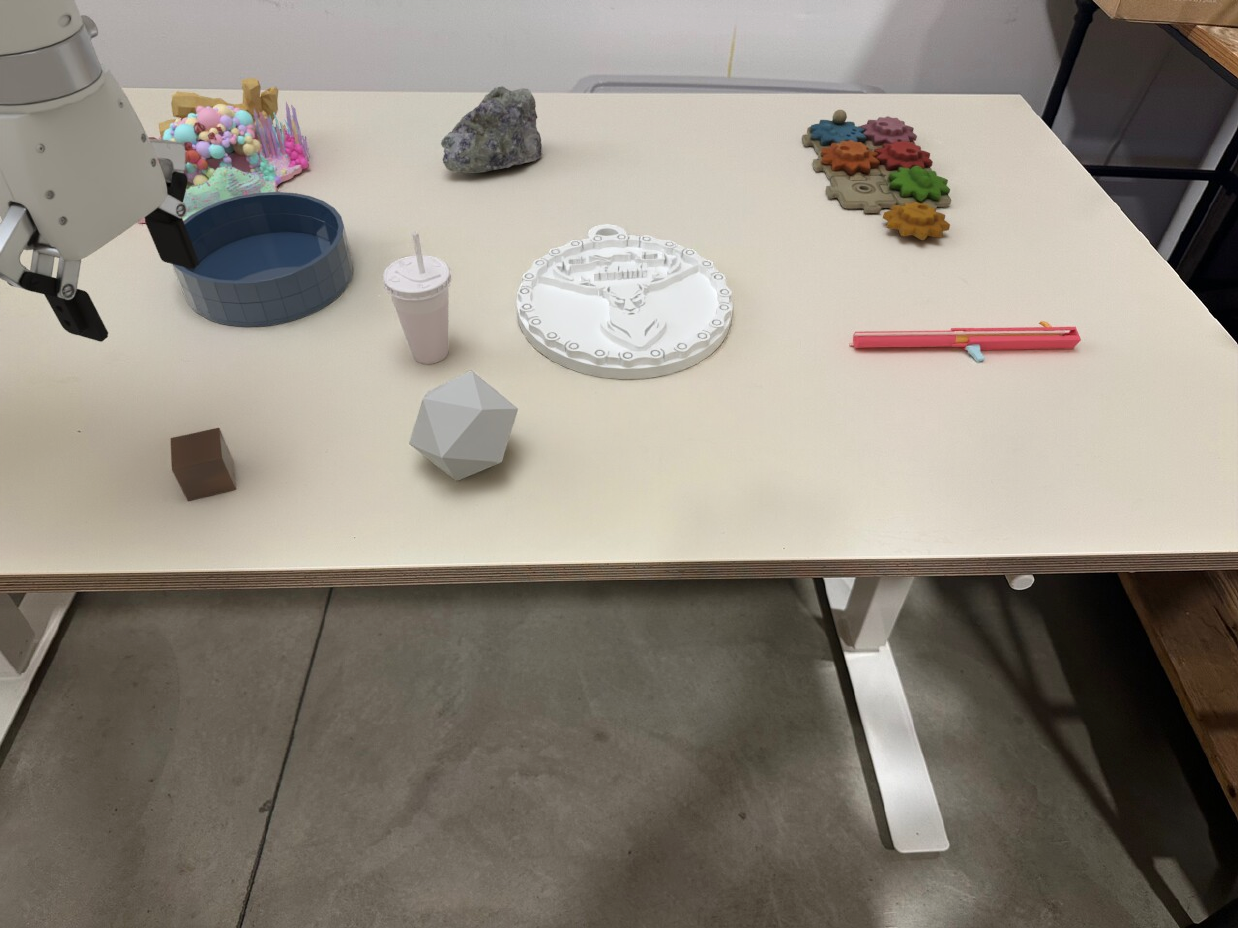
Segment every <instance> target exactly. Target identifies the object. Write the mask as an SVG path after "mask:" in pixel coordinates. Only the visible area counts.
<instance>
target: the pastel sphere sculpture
mask: <svg viewBox="0 0 1238 928" xmlns="http://www.w3.org/2000/svg"><path fill="white" fill-rule="evenodd" d="M240 82H241V89H242V103H229V102H227V101H226V100H224V99H222V98H221V97H216V98H215V97H208V96H202V95H199V94H197V93H195V92H189V91H188V92H187V91H176V92H175V93H173V94H172V95H171V102H170V105H171V112H172V117H174V119H167V120H165V121H162V122H159V123H158V132H159V135H160V136H159V137H158V139H161V140H170V141H174V142H179V143H182V144H183V145H184V146H185V170H184V174H185V175H186V176H187V180H188V182H187V187H186V192H185V196H184V200H183V203H184V204H185V205H186V207H187V214H186V216H185V217H184V218H182V219H183V221H184V220H186V219H187V218H188V217H189V216H191V215H192V214H194V213H196V212H198V211H199V210H201V209H203V208H205V207H207V206H210V205H212V204H215V203H217V202H220V201H223V200H226V199H230V198H233V197H237V196H242V195H248V194H255V193H266V192H278V188H277V187H278V185H280V184H281V183H283V182H286V181H288V180H291V179H293V178H294V176H295V175H298V174H300V173H302V171H303V170H304V169H307V168H308V167H309V162H310V159H309V158H310V157H311V155H310V152H309V151H310V149H309V145H308V140H307V136H306V135H305V136H304V135H302V132H301V129H300V125H299V124H300V123H299V121H298V120H299V119H298V116H297V111H296V107H294V106H293V104H290V107H289V104H288V102H287V101H285V111H286V113H285V115H286V117H285V118H283V119H284V123H285V124H283V123H282V121H279V120H278V118H277V114H278V111H279V104H278V100H279V99H278V97H279V89H278V88H277V86H272V87H269V88H267V89H265V90H263V91H262V92H261V88H262V87H261V84H260V81H259V78H252V77H247V78H245V79H241V80H240ZM290 108H291V110H290ZM291 112H292V115H291ZM274 120H275V125H274ZM148 138H149V139H157V138H156V137H154V136H151V137H149V136H148ZM158 161H159V159H158ZM159 164H160V161H159ZM161 169H162V167H161ZM138 223H139V224H146V223H145V218H143V219H141V220H140V221H139V222H138Z"/></svg>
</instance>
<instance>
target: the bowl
mask: <svg viewBox="0 0 1238 928" xmlns="http://www.w3.org/2000/svg"><path fill="white" fill-rule="evenodd" d="M183 222H184V224H185V227H186V229H187V232H188V235H189V237H190V240H191V242H192V245H193V248H194V250H195V253H196V255H197V258H198V261H199V265H198V266H197V267H195V268H194V269H192V268H191V269H190V268H186V267H182V266H178V265H174V264H170V265H171V267H172V270H173V272H174V274H175V277H176V280H177V282H178V284H179V287H180V289H181V291H182V294H183V296H184V298H185V300H186V302H187V304H188V305H189V307H190V308H191V309H192V310H193V311H194V312H195V313H197V314H198V315H199V316H201V317H202V318H204V319H206V320H209V321H212V322H214V323H218V324H221V325H225V326H232V327H241V328H242V327H243V328H259V327H268V326H269V327H270V326H276V325H281V324H285V323H291V322H293V321H296V320H300V319H302V318H305V317H308V316H310V315H312V314H314V313H317V312H318V311H321V310H323V309H324V308H325V307H327V306H329V305H330V304H332V303H333V302H335V300H337V299H338V298H339V297H340V296H341V295H342V294H343V293H344V292H345V290H346V289H347V288H348V286H349V285H350V283H351V282H352V278H353V275H354V263H353V258H352V253H351V249H350V245H349V242H348V237H347V232H346V229H345V228H346V227H345V224H344V220H343V218H342V216H341V214H340V213H339V211H337V209H336V208H335V207H334V206H332V205H330V204H329V203H328V202H326V201H324V200H322V199H319V198H317V197H314V196H311V195H308V194H302V193H297V192H287V191H286V192H285V191H277V192H266V193H255V194H248V195H242V196H237V197H233V198H230V199H226V200H223V201H220V202H217V203H215V204H212V205H210V206H207V207H205V208H203V209H201V210H199V211H198V212H196V213H194V214H192V215H191V216H189V217H188V218H187V219H186V220H184V221H183Z"/></svg>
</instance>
